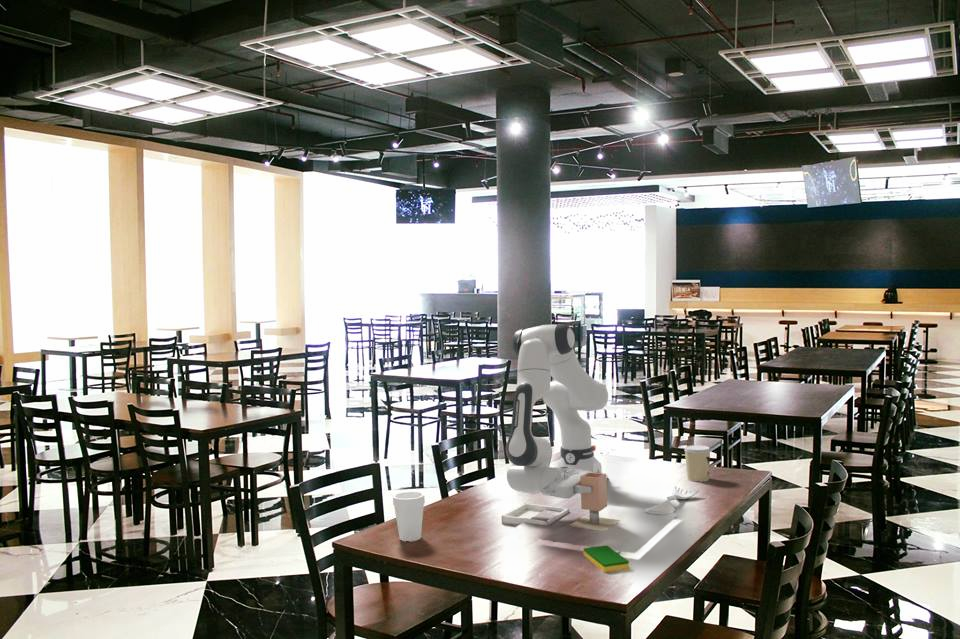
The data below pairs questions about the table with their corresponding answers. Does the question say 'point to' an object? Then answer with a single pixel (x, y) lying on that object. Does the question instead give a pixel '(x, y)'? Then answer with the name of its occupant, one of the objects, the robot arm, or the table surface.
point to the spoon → (667, 505)
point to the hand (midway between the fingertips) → (596, 486)
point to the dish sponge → (606, 558)
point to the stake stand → (594, 522)
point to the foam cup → (409, 514)
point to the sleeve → (594, 491)
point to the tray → (531, 514)
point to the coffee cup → (697, 462)
